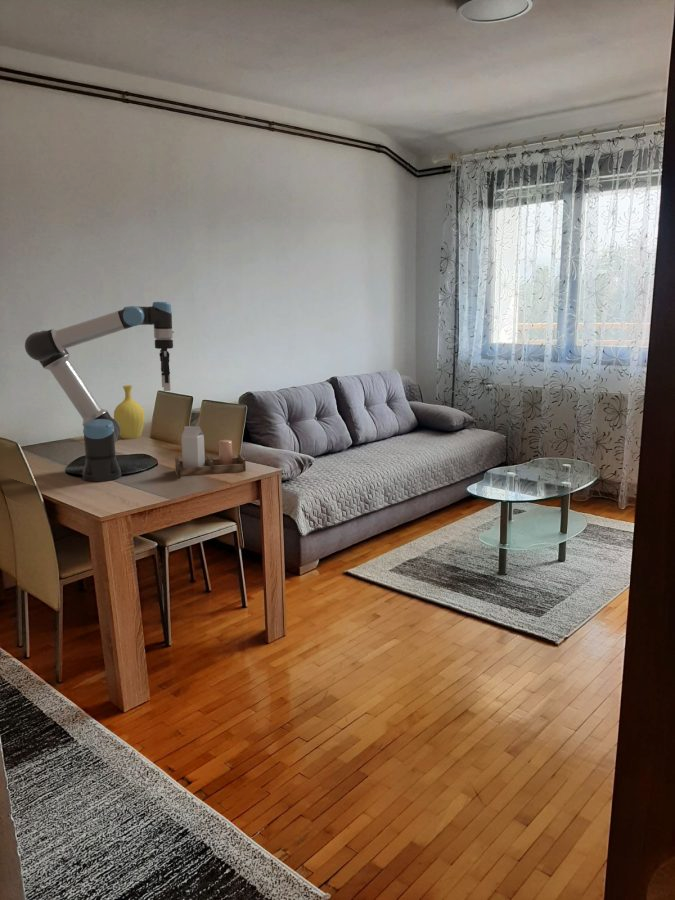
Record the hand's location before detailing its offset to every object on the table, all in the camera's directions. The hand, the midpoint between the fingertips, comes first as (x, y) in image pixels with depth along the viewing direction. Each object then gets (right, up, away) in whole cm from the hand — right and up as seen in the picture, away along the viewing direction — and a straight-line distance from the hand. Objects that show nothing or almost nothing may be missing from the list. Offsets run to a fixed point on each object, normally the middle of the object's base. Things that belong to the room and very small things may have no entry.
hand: (166, 389), depth 284 cm
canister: (+26, -34, +1) cm, 43 cm away
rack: (+19, -36, -1) cm, 41 cm away
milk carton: (+13, -35, -3) cm, 38 cm away
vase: (-39, -19, +76) cm, 88 cm away
